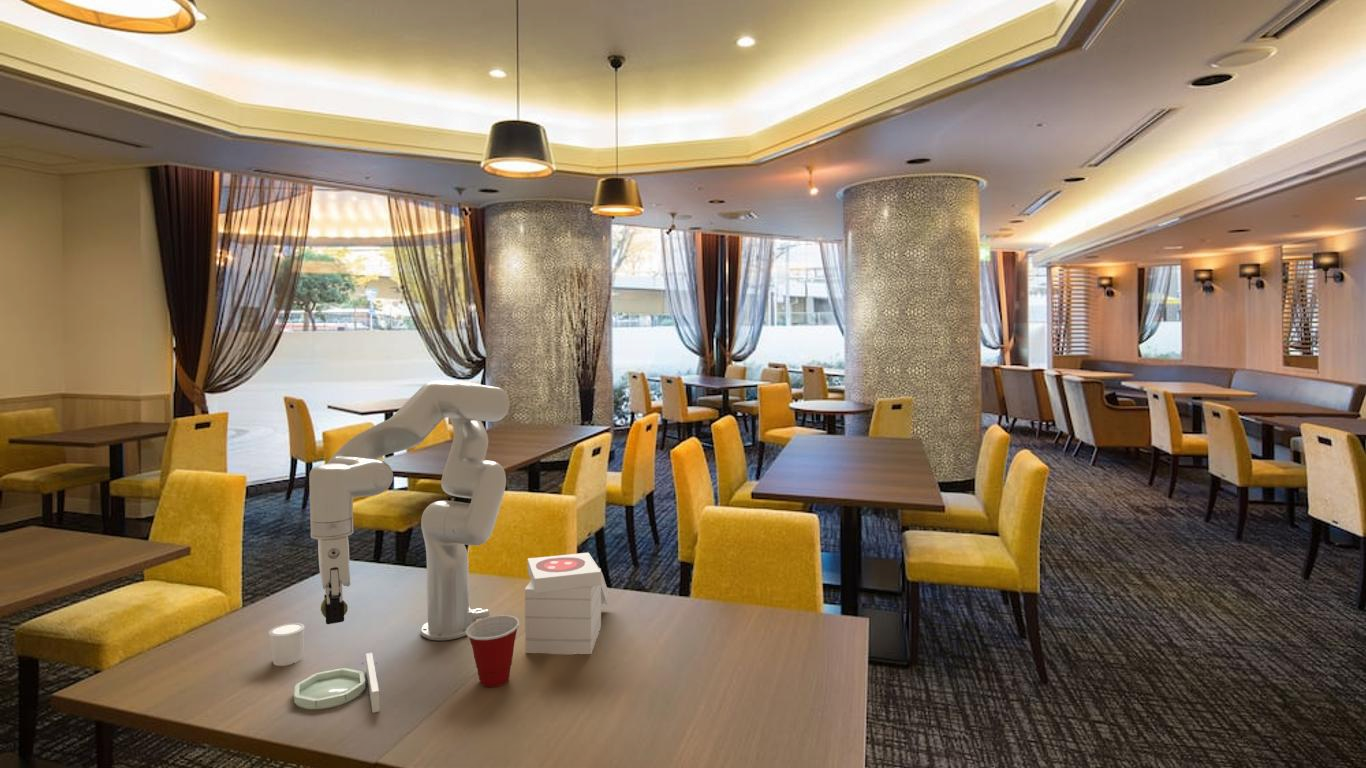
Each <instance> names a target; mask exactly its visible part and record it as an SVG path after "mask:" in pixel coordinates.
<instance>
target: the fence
mask: <svg viewBox="0 0 1366 768" xmlns="http://www.w3.org/2000/svg"><path fill="white" fill-rule="evenodd" d="M365 669H366V670H365V672H366V673H365V674H366V679H367V680H366V681H367V685H368V691H369V698H370V705H371V711H372V714H373V713H377V712H380V690H379V683H378V677H377V673H376V668H375V661H374V656H373V652H368V653H365Z"/></svg>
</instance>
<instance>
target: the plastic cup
mask: <svg viewBox="0 0 1366 768" xmlns="http://www.w3.org/2000/svg"><path fill="white" fill-rule="evenodd" d="M519 626H520V620H519V618H517V617H516V616H513V615H509V614H508V615H506V614H505V615H504V614H498V615H493V616H492V615H491V616H490V615H489V617H486V618H483V619H477V620H476V622H474V623H472V624H471V625H469V626H468V627H467V628H466V632H465V633H466V636H467V637H468V639H469V641H470V644H471V647H472V653H473V657H474V662H475V665H476V666H475V667H476V669H477V675H478V678H479V679H478V680H479V682H480V684H481V686H484V687H485V688H486V687H487V688H496V687H500V686H503V685H504V684H506V683H507V682H508V681H509V678H510V673H511V668H512V664H513V656H514V649H515V641H516V636H517V631H518V629H519Z"/></svg>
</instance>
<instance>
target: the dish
mask: <svg viewBox="0 0 1366 768" xmlns="http://www.w3.org/2000/svg"><path fill="white" fill-rule="evenodd" d="M366 687H367V685H366V679H365V672H364V671H363V670H357V669H352V668H348V667H341V668H337V669H330V670H325V671H321V672H320V671H319V672H316V673H313V674H312V675H310V676H308V677H307V678H304V679H303V680H301V681H299V682H297V683H295V685H294V695H293V703H294V704H295V706H297V707H298V708H301V709H305V710H324V709H330V708H335V707H338V706H341V705H344V704H347V703H350V702H351V701H353V700H355V699H357V698H358V697H360V696H361V695H362V694H363V692H364V691H365V689H366Z"/></svg>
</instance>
